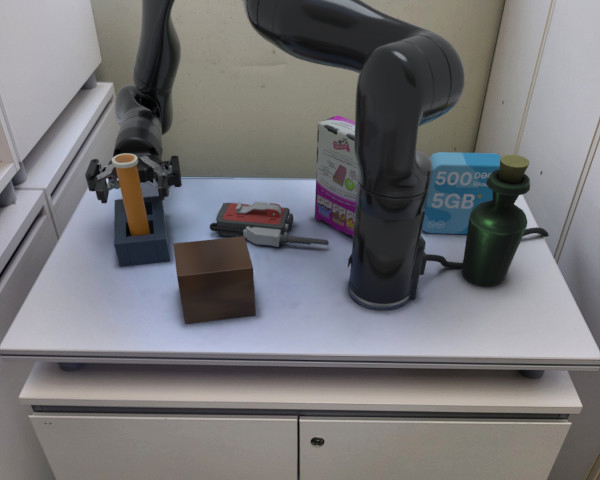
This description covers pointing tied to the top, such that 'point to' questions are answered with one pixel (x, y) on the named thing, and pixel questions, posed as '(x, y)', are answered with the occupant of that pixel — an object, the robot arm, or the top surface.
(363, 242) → the robot arm
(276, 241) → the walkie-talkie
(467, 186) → the data package
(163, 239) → the rack
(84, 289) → the top surface
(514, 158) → the potion bottle
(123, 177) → the test tube
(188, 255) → the stand
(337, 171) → the candy bar box
